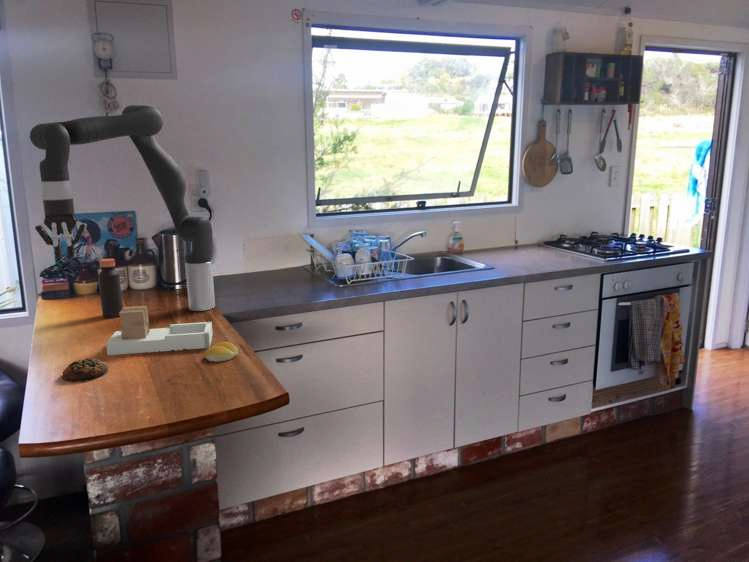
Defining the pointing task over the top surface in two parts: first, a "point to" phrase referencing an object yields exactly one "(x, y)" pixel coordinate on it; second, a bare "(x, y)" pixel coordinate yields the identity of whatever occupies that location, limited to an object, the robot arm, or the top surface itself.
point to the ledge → (138, 343)
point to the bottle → (110, 289)
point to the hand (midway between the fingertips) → (65, 258)
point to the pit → (189, 336)
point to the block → (134, 322)
